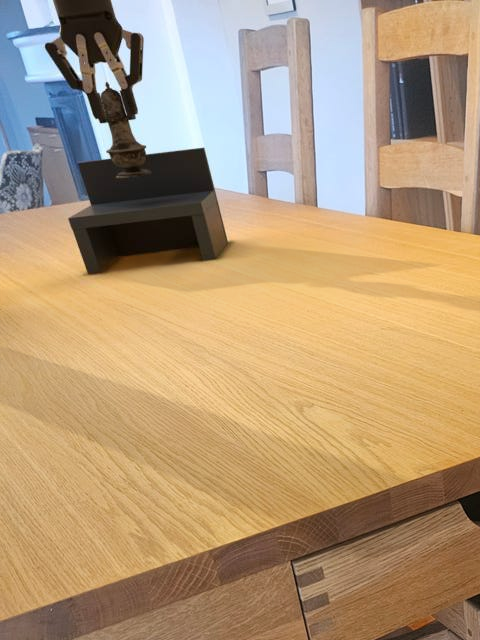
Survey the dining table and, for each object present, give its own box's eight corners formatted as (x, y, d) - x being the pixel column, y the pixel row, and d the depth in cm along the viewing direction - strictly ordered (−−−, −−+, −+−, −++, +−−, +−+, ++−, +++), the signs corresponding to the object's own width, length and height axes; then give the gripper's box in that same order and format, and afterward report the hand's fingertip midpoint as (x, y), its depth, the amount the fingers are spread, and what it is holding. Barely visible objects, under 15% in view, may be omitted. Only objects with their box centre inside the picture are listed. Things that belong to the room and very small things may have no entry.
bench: (87, 274, 129) (51, 172, 121) (110, 256, 140) (79, 162, 132) (215, 259, 130) (189, 156, 121) (228, 242, 141) (204, 147, 133)
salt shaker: (145, 171, 130) (118, 80, 123) (159, 172, 127) (133, 78, 120) (108, 177, 128) (79, 84, 121) (122, 179, 124) (93, 83, 117)
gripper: (132, -31, 116) (170, 114, 126) (30, -20, 116) (77, 125, 126) (119, -35, 110) (160, 117, 120) (12, -23, 109) (62, 128, 120)
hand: (117, 120), depth 123 cm, fingers closed on salt shaker, 3 cm apart
